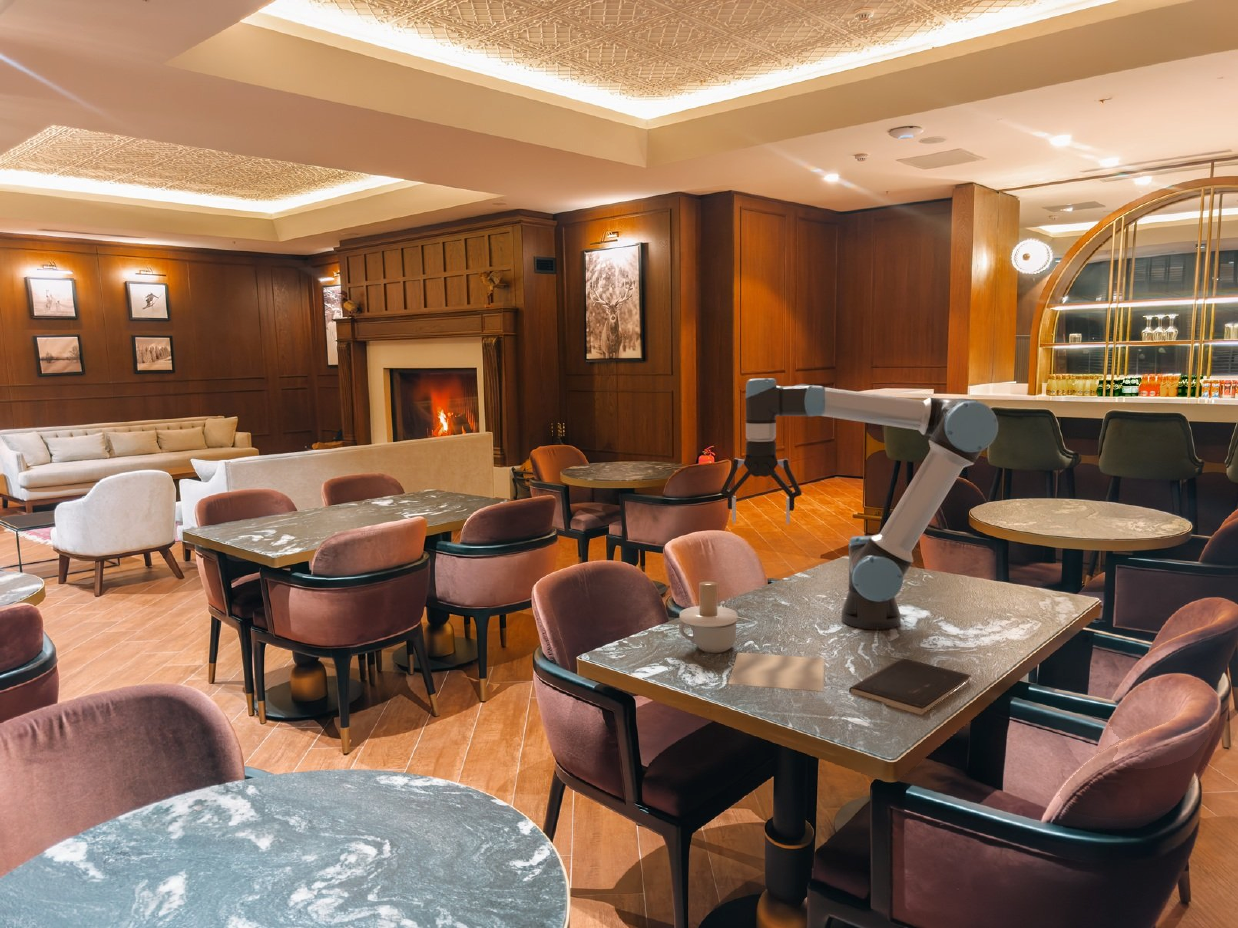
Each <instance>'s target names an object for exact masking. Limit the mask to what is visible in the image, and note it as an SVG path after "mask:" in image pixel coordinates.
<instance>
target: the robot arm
mask: <svg viewBox="0 0 1238 928" xmlns="http://www.w3.org/2000/svg"><path fill="white" fill-rule="evenodd" d="M818 416H821V417H828V418H834V419H840V420H847V421H854V422H860V423H861V422H862V423H867V424H875V425H882V426H888V427H889V426H890V427H895V428H902V429H909V430H916V431H919V433H920V434H921V435H923V436H930V438H929V439H928V444H929V447H930V449H929V452H928V454H926V457H925V458H924V460H923V462H922V463H921V464H920V466H919V468H918V470H917V471H916V473H915V475H914V476H913V478H912V479H911V481H910V483H909V484H908V486H907V488H906V489H905V492H904V493H903V494H902V496H901V498H899V499H900V500H899V501H898V503H897V505H896V506H895V507H894V509H893V511H892V513H891V514H890V516H889V517H888V519H887V521H886V522H885V524H884V526H883V527H882V528H881V531H879V533H878V534H873V535H858V536H857V535H855V536H852V537H850V539H849V542H848V543H849V544H848V548H847V549H848V592H847V595H846V598H845V600H844V603H843V607H842V609H841V616H840V617H841V621H842V622H843V623H844V624H845V625H847V626H851V627H854V628H858V629H863V630H865V629H866V630H875V631H876V630H890V629H894V628H896V627H897V628H898V627H899V626H900V625H901V612H900V609H899V605H898V603H897V600H896V596H897V595H898V594H899V593H900V591H901V589H902V587H903V584H904V576H905V574H907V572H908V570H909V569H910V567H911V565H912V564H913V562H914V557H913V553H912V551H913V550H914V548H915V546H916V545H917V543H918V542H919V540H920V538H922V535H923V534H924V532H925V531H926V528H927V527H928V526H929V523H931V521H932V520H933V518H934V517H935V514H936V513H937V511H938V510H939V508H940V506H941V505H942V503H943V501H944V500H945V498H946V497H947V495H948V493H949V492H950V490H951V489H952V487H953V486H954V484H955V482H957V481H956V480H957V479H958V477H960V474H961V473H962V470H963V469H964V468H966V467H969V466H973V465H974V464H975V463H976V462H977V460H978V458H979V457H980V455H981V453H982V452H983V451H984V450H986V449H987V448H988V447H989V446H991V444H993V443H994V441H995V439H996V438H997V436H998V432H999V421H998V418H997V416H996V414H995V412H994V410H992V408H990V407H989V406H988V405H987V404H985V403H984V402H982V401H978V400H976V399H969V398H937V397H936V398H934V397H928V398H926V399H925V400H919V399H915V398H906V397H899V396H898V397H897V396H891V395H883V394H876V393H869V392H863V391H862V392H861V391H854V390H847V389H840V388H839V389H838V388H831V387H824V386H822V385H815V384H812V385H811V384H810V385H809V384H806V383H799V384H795V385H786V386H783V385H778V384H777V380H776V379H775V378H773V377H772V378H770V377H769V378H764V377H763V378H750V379H748V380H747V381H746V384H745V438H746V439H747V440H746V442H745V459H740V458H738V457H735V458H734V459H733V461H732V462H733V463H732V468H731V470H730V472H729V474H728V476H727V478H726V480H725V481H724V484H723V486H722V488H721V489H720V494H721V495H723V496H726V497H727V509H728V510H731V524H733V523H734V524H735V523H736V522H737V496H736V495H734V494H735V493H736V492H737V491H738V490H739V488H740V487H741V486H742V485H743V484H744V483H745V482H746V481H747V479H748V478H750V476H752V477H756V478H758V477H763V478H767V477H769V476H770V477H771V478H772V479H773V480H774V481H775V482H776V484H778V486H779V487H780V488H781V489H782V490H783V491H784V493H785V494H786V495H787V497H786V499H785V503H786V504H785V506H786V507H785V508H786V509H785V515H786V516H785V519H786V520H785V525H790V523H791V522H790V518H791V517H790V516H791V513H790V511H791V512H793V511H794V510H795V498H797V497H801V496H802V489H801V488H800V485H799V484H798V482H797V479H796V478H795V475H794V474H793V471H792V469H791V468H790V461H789V459H788V458H787V457H786V458H784V459H778V458H777V442H776V440H775V439H776V438H777V417H809V418H810V417H811V418H812V417H818ZM742 465H744V467H745V468H746V469H747V471H746V472H745V473H744V474H743V475H742V477H741V478H740V479H739V480H738V481H737V482H736V483H735V484H734V485H733V487H731V489H730V490H728V488H729V487H730V484H731V483H732V481H733V479H734V477H735V475H736V473H737V472H738V469H739V468H741V467H742ZM778 465H779V466H780V468H781V469H783V470H784V472H785V474H786V476H787V478H788V481H789V482H790V484H791V486H792V488H793V489H794V491H793V490H792V489H791V488H790V487H789V485H788V484H787V483H786V482H785V481H784V480H783V479H782V477H781V476H780V475H779V473H778V472H777V471H776V470H775V469H776V468H777V466H778Z"/></svg>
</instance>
